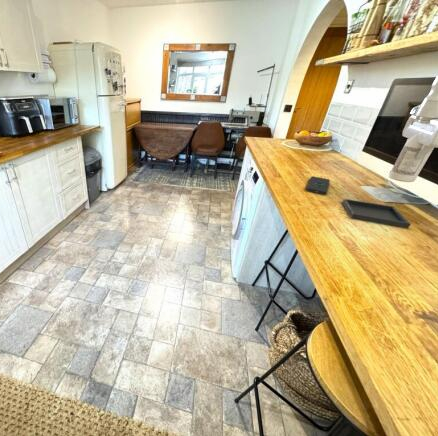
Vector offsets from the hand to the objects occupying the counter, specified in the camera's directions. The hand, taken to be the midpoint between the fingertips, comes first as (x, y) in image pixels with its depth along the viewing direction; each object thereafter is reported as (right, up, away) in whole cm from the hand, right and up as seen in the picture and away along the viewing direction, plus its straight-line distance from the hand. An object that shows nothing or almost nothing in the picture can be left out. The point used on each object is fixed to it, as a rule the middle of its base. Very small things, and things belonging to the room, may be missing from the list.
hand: (412, 155), depth 82 cm
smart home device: (-7, -6, +35) cm, 37 cm away
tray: (-4, -20, +11) cm, 23 cm away
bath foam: (0, -8, +4) cm, 9 cm away
